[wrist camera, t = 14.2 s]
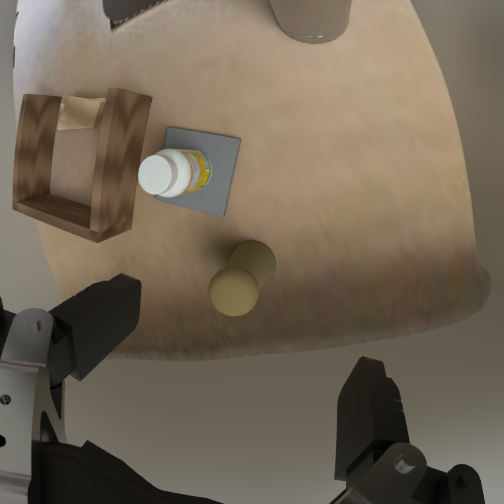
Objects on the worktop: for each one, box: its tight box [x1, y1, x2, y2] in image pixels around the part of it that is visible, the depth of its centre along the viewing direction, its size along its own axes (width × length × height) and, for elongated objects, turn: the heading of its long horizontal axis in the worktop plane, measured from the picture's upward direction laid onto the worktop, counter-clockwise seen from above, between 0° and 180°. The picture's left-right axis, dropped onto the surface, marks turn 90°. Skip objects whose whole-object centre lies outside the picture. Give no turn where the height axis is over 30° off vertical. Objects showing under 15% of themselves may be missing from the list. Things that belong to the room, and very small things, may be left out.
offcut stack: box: [57, 95, 107, 130], centre depth 36 cm, size 6×12×4 cm, turn 78°
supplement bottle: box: [138, 149, 212, 197], centre depth 32 cm, size 5×5×10 cm
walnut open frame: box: [13, 88, 152, 243], centre depth 37 cm, size 20×22×8 cm
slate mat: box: [155, 127, 241, 217], centre depth 37 cm, size 10×10×1 cm
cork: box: [208, 240, 276, 316], centre depth 34 cm, size 6×6×11 cm
